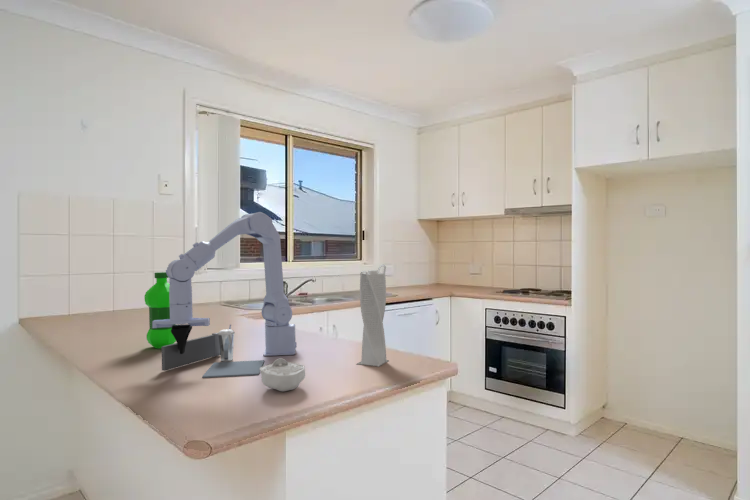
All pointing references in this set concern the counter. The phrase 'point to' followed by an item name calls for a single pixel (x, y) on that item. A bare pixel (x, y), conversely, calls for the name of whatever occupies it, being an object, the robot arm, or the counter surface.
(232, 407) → the counter surface
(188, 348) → the grey rectangular panel
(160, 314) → the plastic bottle
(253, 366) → the mat
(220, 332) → the milkshake
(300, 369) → the cell model
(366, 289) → the skyscraper
